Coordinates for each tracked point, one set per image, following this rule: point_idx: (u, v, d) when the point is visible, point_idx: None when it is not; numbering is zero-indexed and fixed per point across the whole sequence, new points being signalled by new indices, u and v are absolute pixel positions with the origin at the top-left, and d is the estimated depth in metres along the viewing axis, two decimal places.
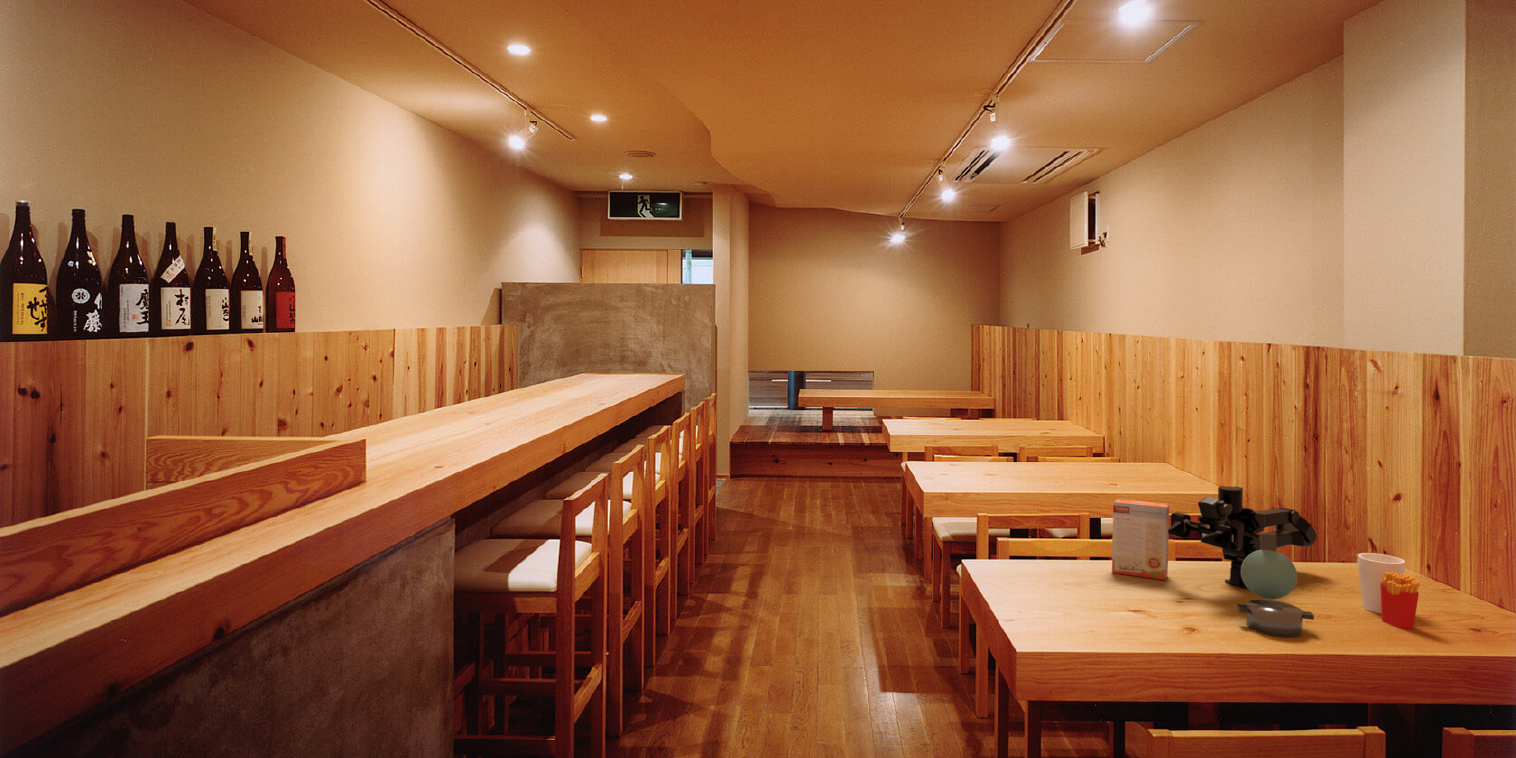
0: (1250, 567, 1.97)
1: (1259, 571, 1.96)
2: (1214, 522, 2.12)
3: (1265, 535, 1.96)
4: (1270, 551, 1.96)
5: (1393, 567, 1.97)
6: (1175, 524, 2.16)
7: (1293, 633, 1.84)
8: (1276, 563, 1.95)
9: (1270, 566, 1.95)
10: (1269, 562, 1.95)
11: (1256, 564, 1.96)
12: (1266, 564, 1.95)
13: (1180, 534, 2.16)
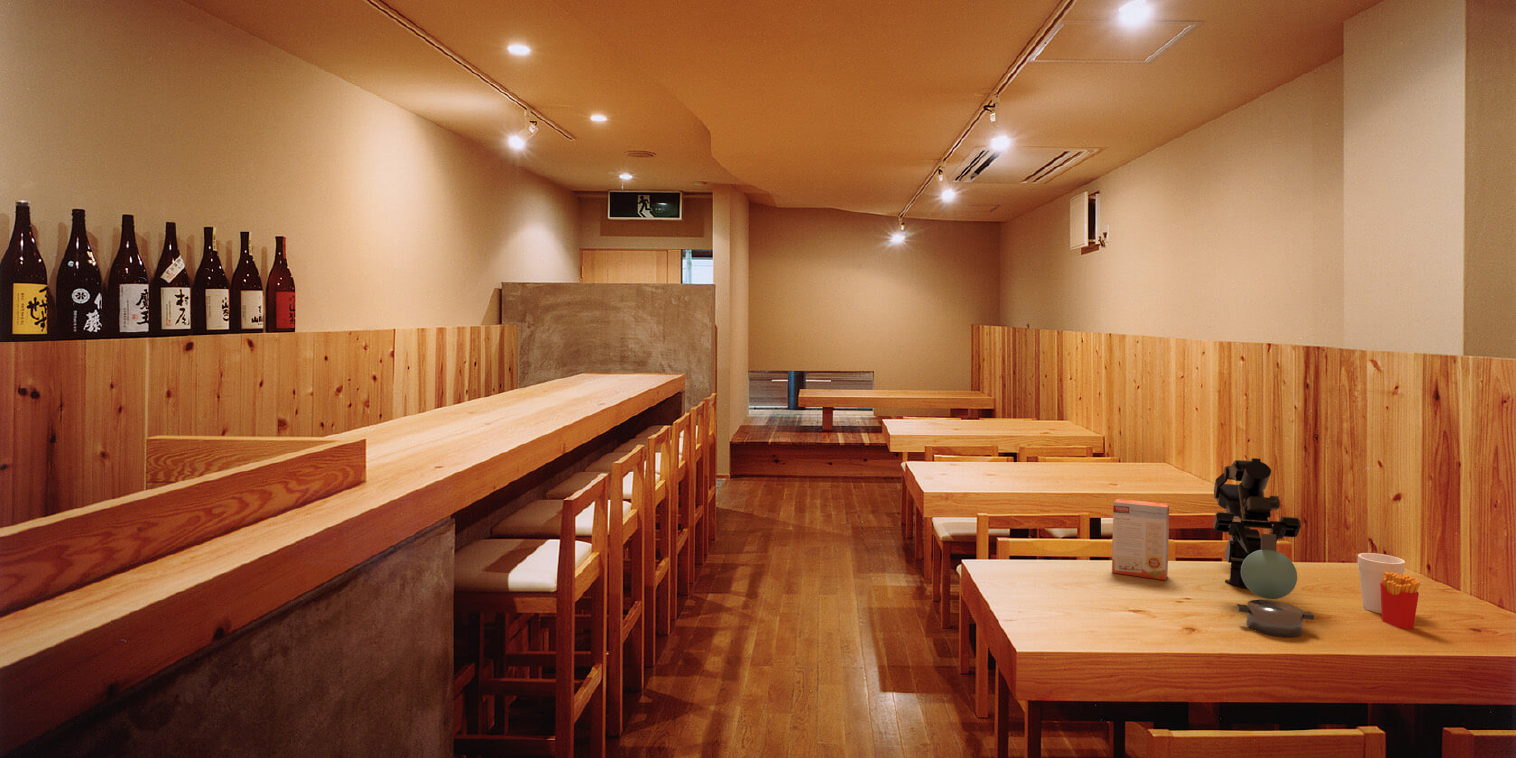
0: (1250, 567, 1.97)
1: (1259, 571, 1.96)
2: (1264, 516, 2.07)
3: (1265, 535, 1.96)
4: (1270, 551, 1.96)
5: (1393, 567, 1.97)
6: (1243, 536, 2.07)
7: (1293, 633, 1.84)
8: (1276, 563, 1.95)
9: (1270, 566, 1.95)
10: (1269, 562, 1.95)
11: (1256, 564, 1.96)
12: (1266, 564, 1.95)
13: None
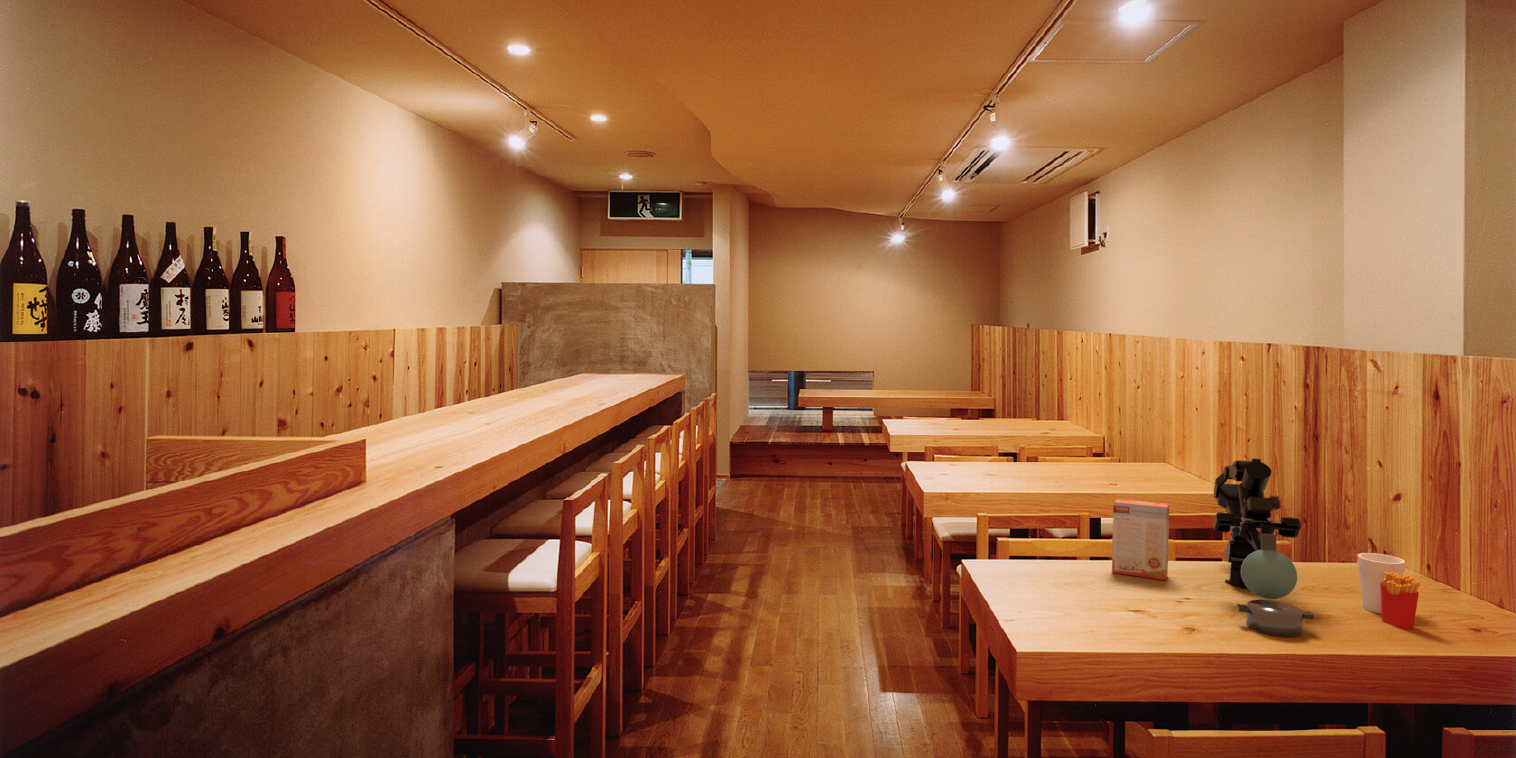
0: (1250, 567, 1.97)
1: (1259, 571, 1.96)
2: (1264, 516, 2.07)
3: (1265, 535, 1.96)
4: (1270, 551, 1.96)
5: (1393, 567, 1.97)
6: (1254, 537, 2.06)
7: (1293, 633, 1.84)
8: (1276, 563, 1.95)
9: (1270, 566, 1.95)
10: (1269, 562, 1.95)
11: (1256, 564, 1.96)
12: (1266, 564, 1.95)
13: None
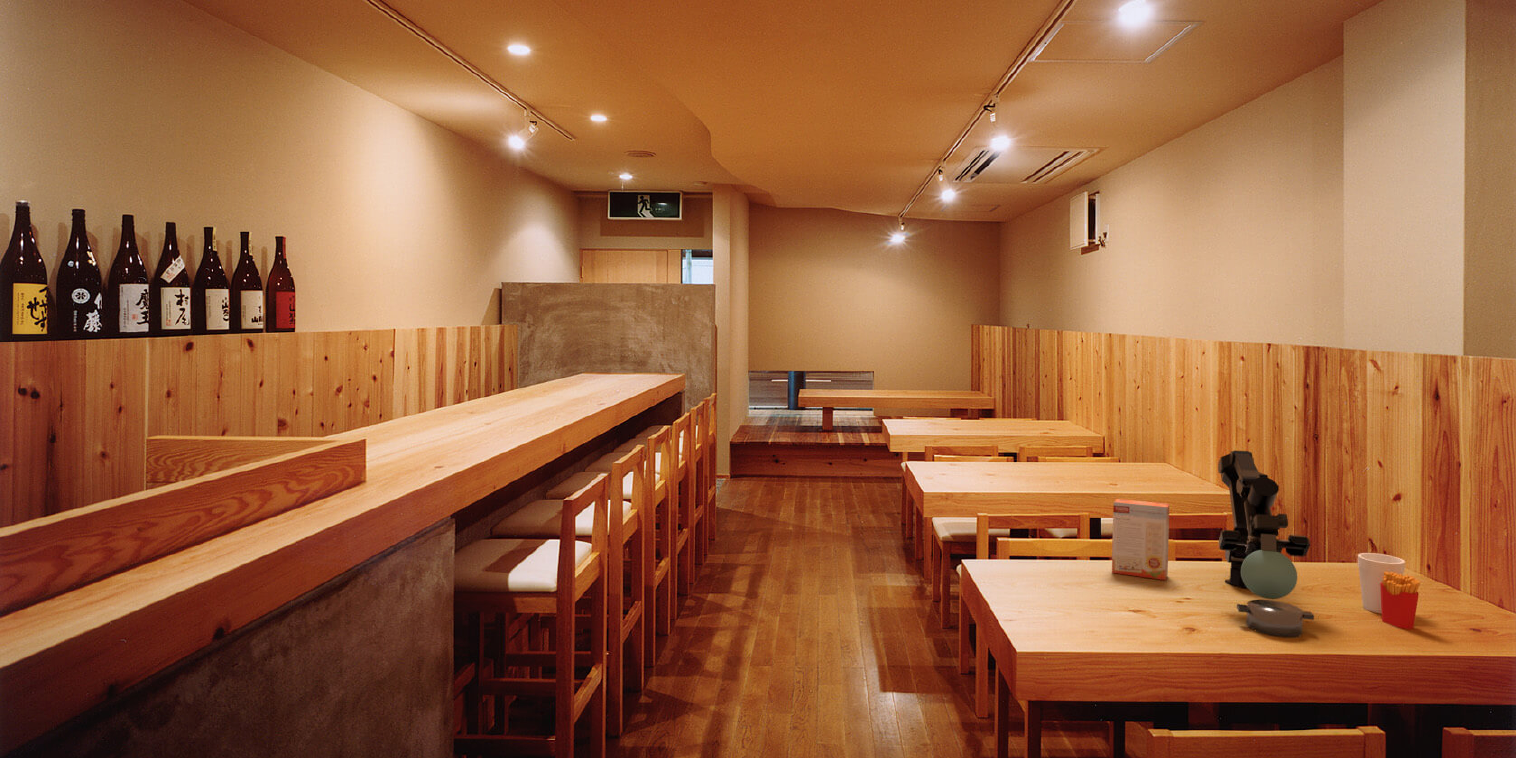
0: (1250, 567, 1.96)
1: (1259, 571, 1.96)
2: None
3: (1265, 535, 1.96)
4: (1270, 551, 1.96)
5: (1393, 567, 1.97)
6: None
7: (1293, 633, 1.84)
8: (1276, 563, 1.95)
9: (1270, 566, 1.95)
10: (1269, 562, 1.95)
11: (1256, 564, 1.96)
12: (1266, 564, 1.95)
13: None
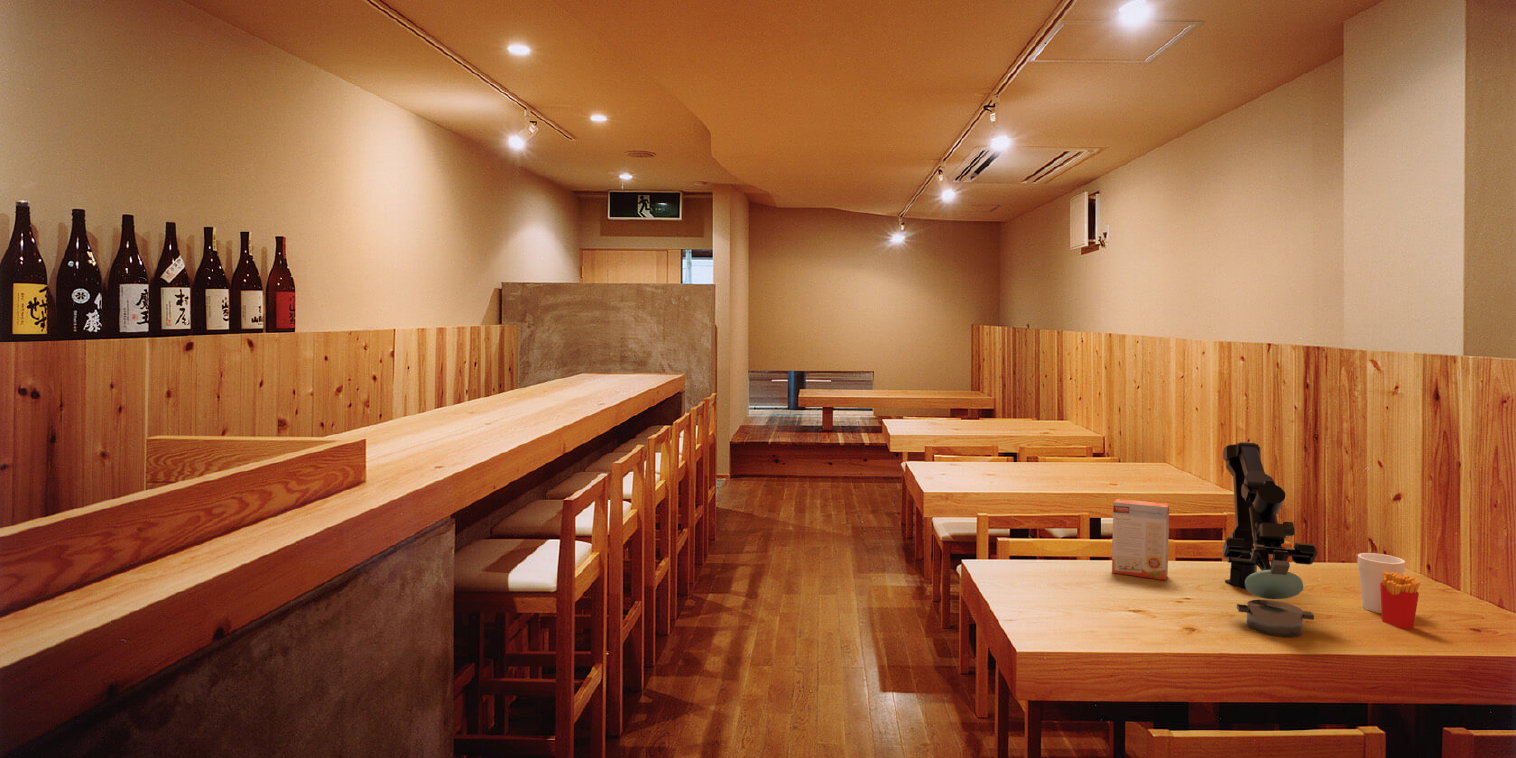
0: (1255, 582, 1.91)
1: (1264, 584, 1.91)
2: (1278, 542, 1.94)
3: (1278, 565, 1.84)
4: (1279, 574, 1.87)
5: (1393, 567, 1.97)
6: (1267, 565, 1.93)
7: (1293, 633, 1.84)
8: (1283, 581, 1.88)
9: (1276, 582, 1.89)
10: (1276, 580, 1.88)
11: (1262, 580, 1.90)
12: (1273, 581, 1.89)
13: None
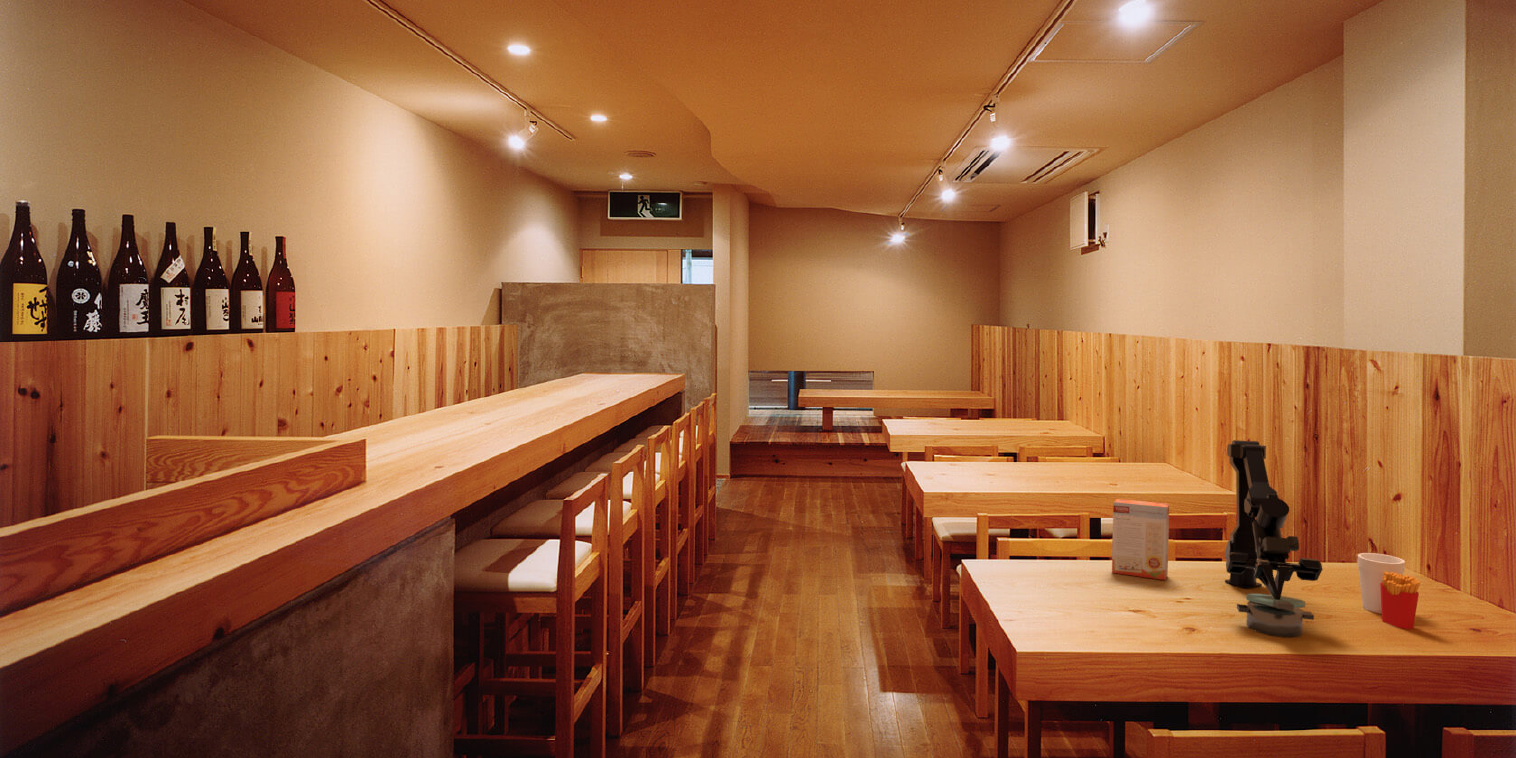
0: None
1: None
2: (1282, 557, 1.90)
3: (1281, 608, 1.81)
4: None
5: (1393, 567, 1.97)
6: (1271, 581, 1.89)
7: (1293, 633, 1.84)
8: None
9: None
10: None
11: None
12: None
13: None
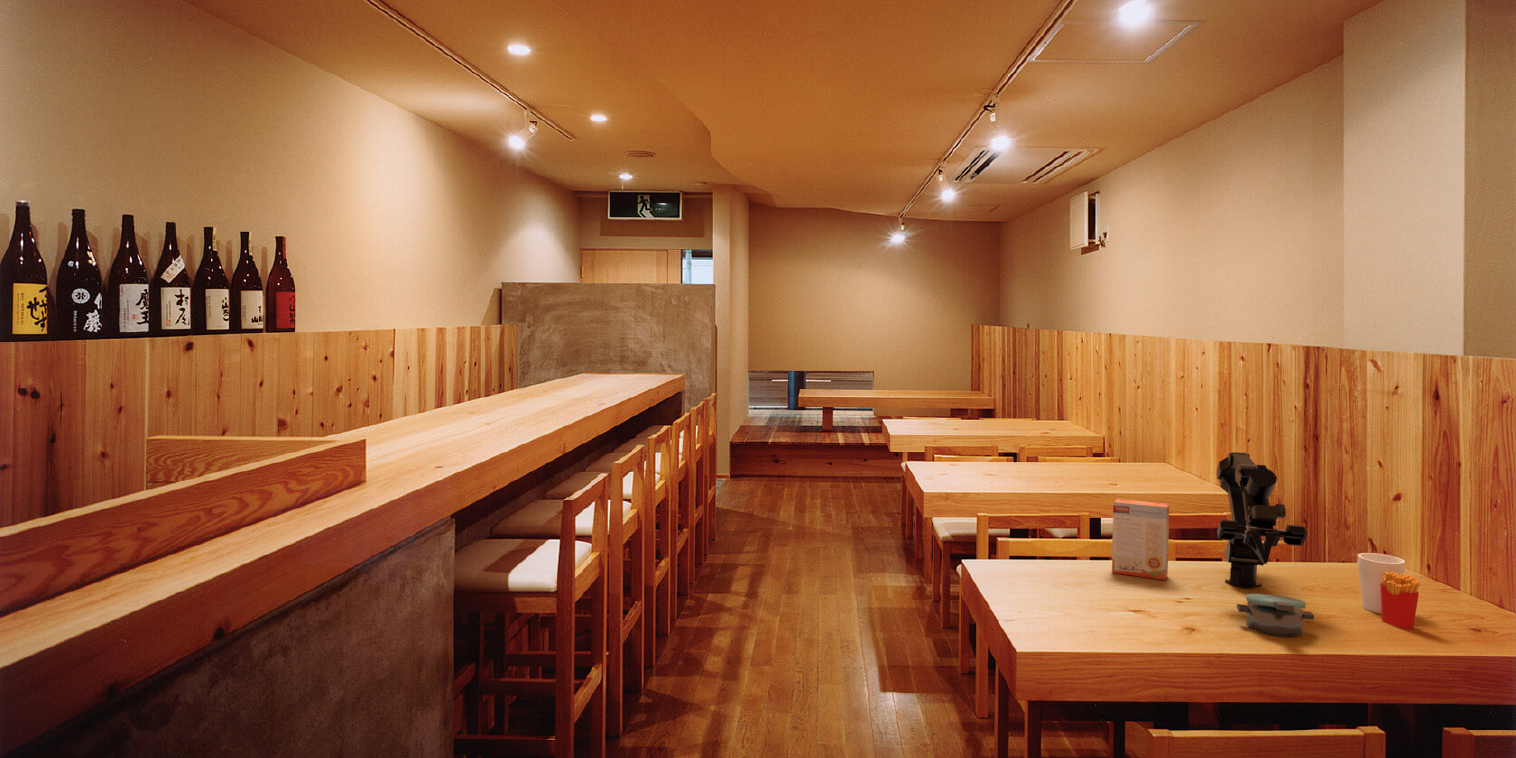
0: None
1: None
2: (1270, 524, 2.02)
3: None
4: None
5: (1393, 567, 1.97)
6: (1259, 546, 2.00)
7: (1293, 633, 1.84)
8: None
9: None
10: None
11: None
12: None
13: None
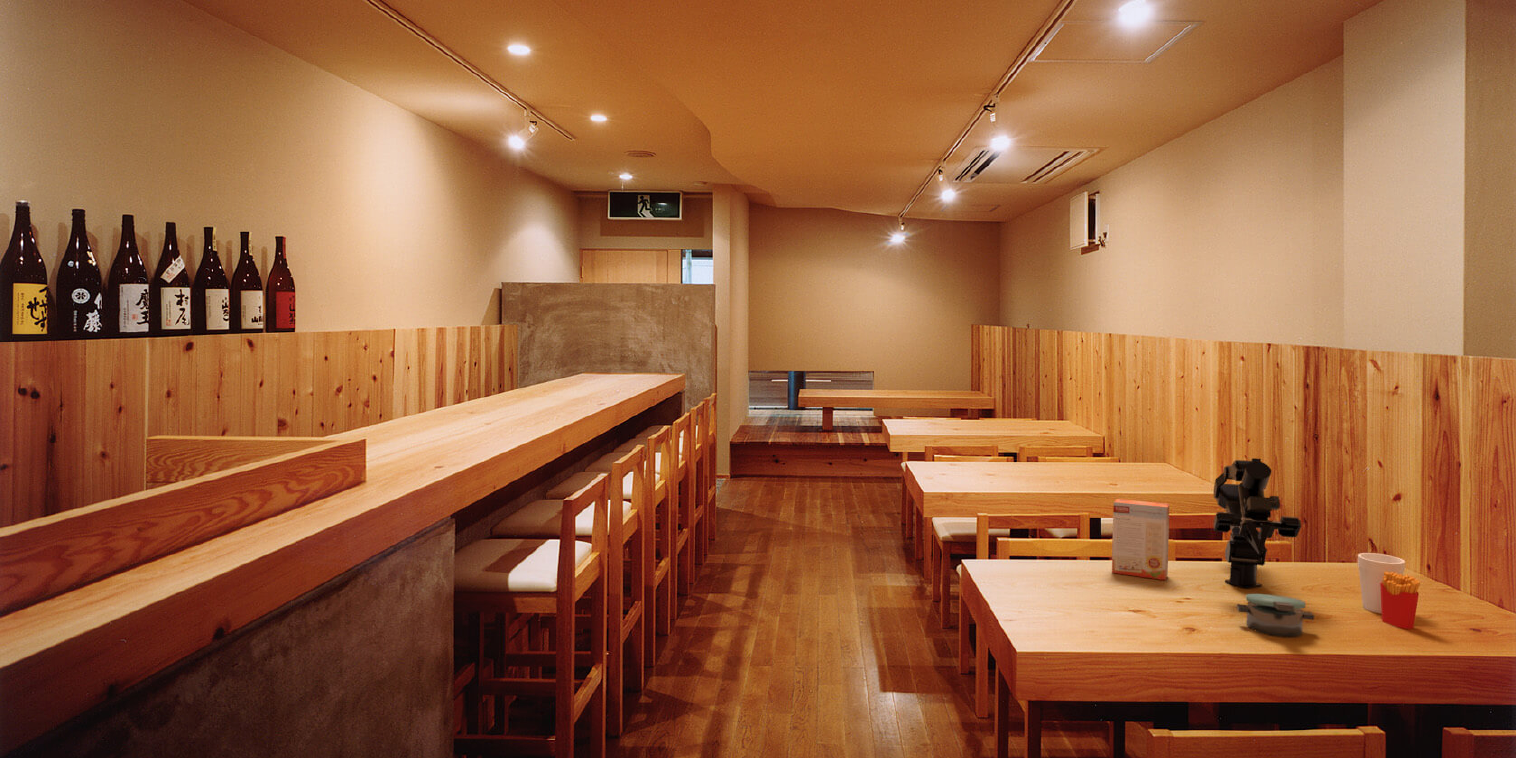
0: None
1: None
2: (1264, 516, 2.07)
3: None
4: None
5: (1393, 567, 1.97)
6: (1254, 537, 2.06)
7: (1293, 633, 1.84)
8: None
9: None
10: None
11: None
12: None
13: None
